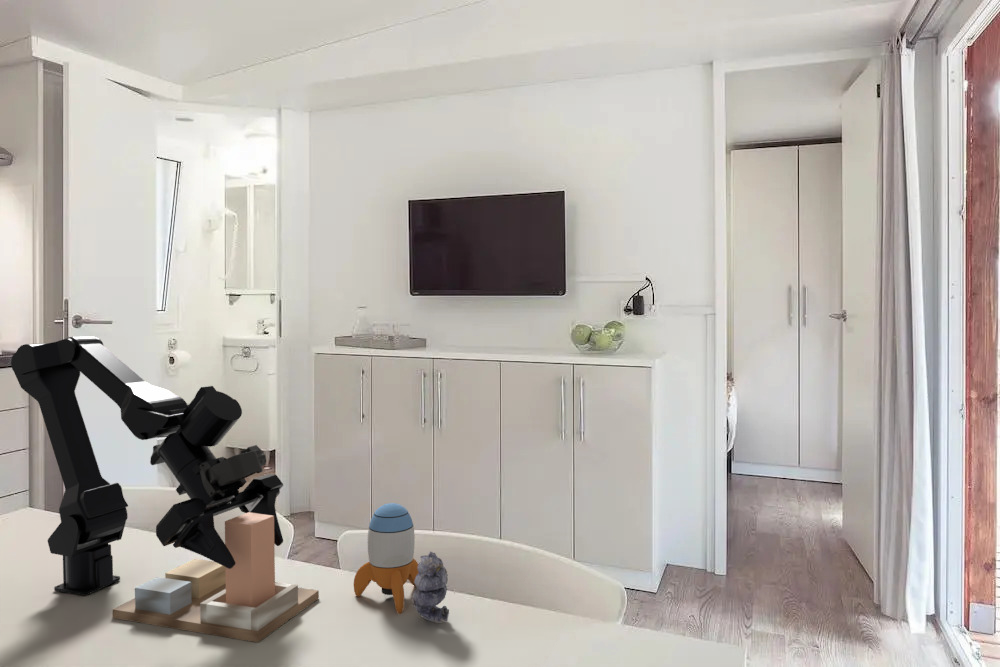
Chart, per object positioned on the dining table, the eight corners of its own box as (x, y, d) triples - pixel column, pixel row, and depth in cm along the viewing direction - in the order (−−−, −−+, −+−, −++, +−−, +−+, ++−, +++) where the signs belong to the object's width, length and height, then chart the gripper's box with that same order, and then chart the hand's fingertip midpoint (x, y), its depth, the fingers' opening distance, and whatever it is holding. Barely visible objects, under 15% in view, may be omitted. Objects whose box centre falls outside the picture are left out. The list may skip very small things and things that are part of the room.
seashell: (455, 617, 94) (455, 546, 94) (440, 635, 89) (439, 560, 89) (421, 612, 96) (420, 542, 96) (403, 629, 91) (403, 555, 90)
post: (226, 615, 92) (224, 521, 92) (249, 602, 96) (248, 512, 96) (252, 621, 90) (250, 525, 90) (275, 607, 95) (274, 515, 94)
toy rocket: (416, 621, 95) (392, 522, 93) (346, 627, 97) (321, 530, 95) (435, 582, 105) (414, 491, 103) (371, 588, 107) (350, 500, 105)
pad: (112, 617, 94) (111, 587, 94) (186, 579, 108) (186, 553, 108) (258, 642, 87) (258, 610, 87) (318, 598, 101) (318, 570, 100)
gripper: (170, 442, 85) (239, 540, 82) (272, 420, 103) (333, 500, 99) (127, 497, 89) (191, 594, 85) (233, 467, 106) (290, 546, 102)
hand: (258, 554), depth 93 cm, fingers open, 9 cm apart
